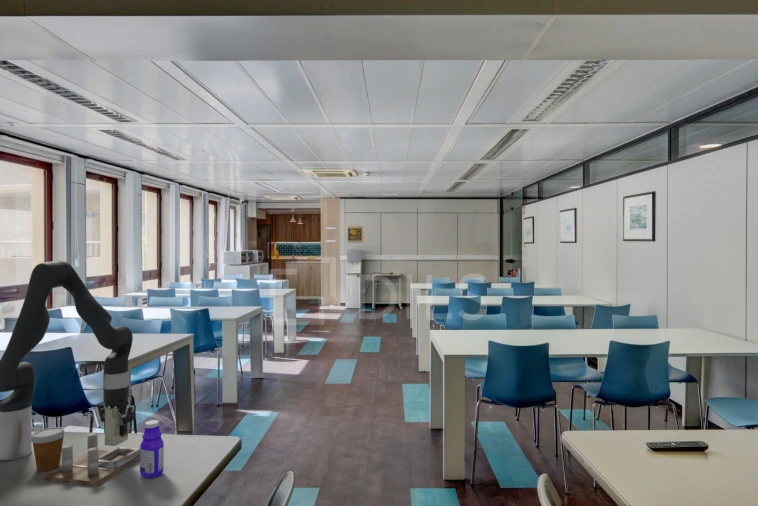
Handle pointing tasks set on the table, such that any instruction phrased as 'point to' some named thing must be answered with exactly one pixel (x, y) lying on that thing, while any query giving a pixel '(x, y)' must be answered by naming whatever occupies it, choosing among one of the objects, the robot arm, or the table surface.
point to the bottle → (151, 451)
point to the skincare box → (113, 428)
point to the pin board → (83, 472)
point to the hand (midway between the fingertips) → (116, 434)
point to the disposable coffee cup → (48, 447)
